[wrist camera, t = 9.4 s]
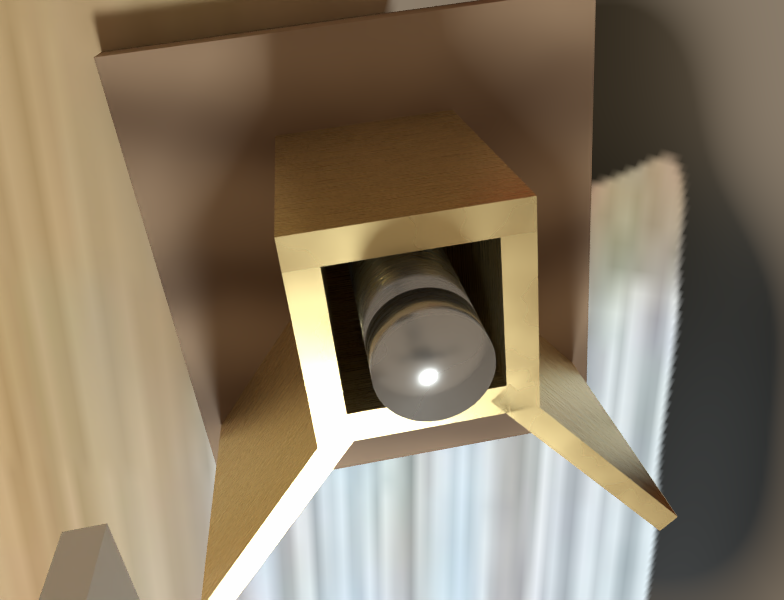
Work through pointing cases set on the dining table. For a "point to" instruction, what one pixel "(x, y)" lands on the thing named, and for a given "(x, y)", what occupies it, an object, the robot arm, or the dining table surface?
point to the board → (333, 109)
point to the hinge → (344, 336)
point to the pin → (421, 335)
